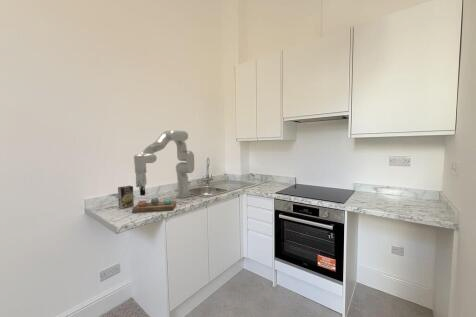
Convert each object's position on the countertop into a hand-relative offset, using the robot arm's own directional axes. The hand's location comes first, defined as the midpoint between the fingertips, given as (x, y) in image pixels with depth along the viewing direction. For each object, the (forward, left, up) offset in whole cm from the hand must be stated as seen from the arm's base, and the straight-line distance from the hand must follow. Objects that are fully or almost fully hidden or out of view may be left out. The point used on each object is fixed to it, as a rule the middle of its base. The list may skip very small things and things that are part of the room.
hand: (142, 195), depth 155 cm
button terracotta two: (+1, 0, -7) cm, 7 cm away
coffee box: (-9, -15, -11) cm, 21 cm away
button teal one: (+1, +18, -7) cm, 19 cm away
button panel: (+1, +9, -11) cm, 14 cm away
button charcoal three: (+1, +9, -6) cm, 11 cm away
